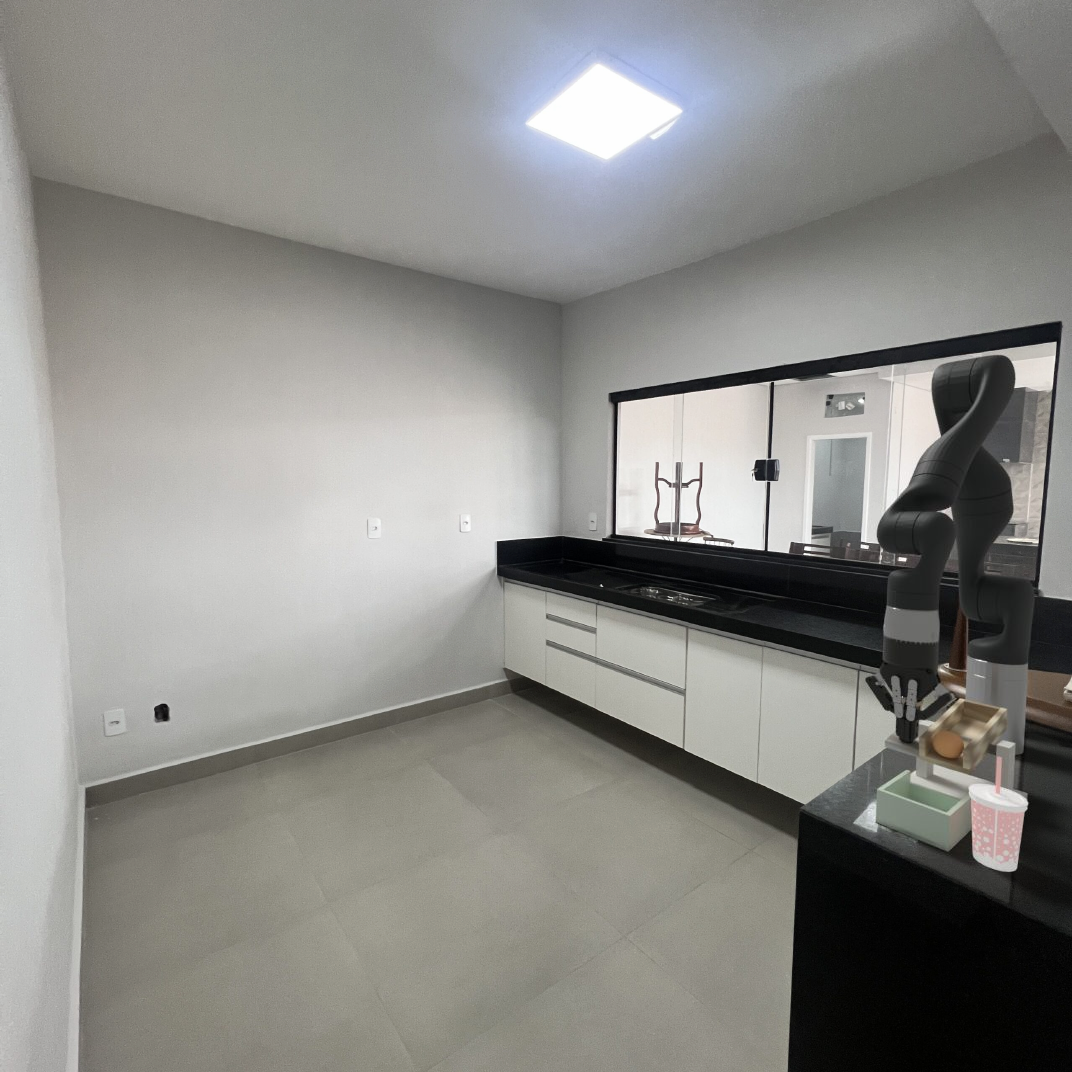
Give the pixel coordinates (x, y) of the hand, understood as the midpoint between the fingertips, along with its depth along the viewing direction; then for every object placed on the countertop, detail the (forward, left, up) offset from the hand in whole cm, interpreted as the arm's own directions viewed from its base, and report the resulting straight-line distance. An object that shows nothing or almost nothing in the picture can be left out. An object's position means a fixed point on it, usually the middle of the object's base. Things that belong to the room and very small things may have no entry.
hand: (906, 740), depth 95 cm
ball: (0, +6, +1) cm, 6 cm away
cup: (+8, +6, -9) cm, 13 cm away
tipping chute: (-8, +4, -2) cm, 9 cm away
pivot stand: (-7, +6, -9) cm, 13 cm away
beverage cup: (+11, +15, -9) cm, 20 cm away
